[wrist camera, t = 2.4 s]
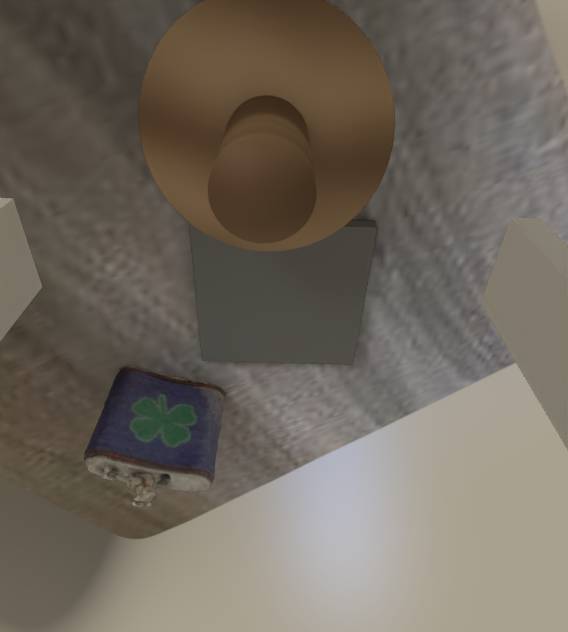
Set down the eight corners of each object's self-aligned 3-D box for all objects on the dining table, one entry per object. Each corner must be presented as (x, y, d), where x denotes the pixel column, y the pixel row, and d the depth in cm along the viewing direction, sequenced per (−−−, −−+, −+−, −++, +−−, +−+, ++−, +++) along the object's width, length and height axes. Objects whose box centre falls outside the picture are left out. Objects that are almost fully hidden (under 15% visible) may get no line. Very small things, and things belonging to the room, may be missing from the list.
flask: (228, 386, 40) (212, 502, 31) (219, 408, 41) (203, 523, 33) (119, 360, 38) (71, 476, 29) (115, 384, 39) (68, 500, 31)
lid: (125, -24, 17) (49, -18, 12) (412, -10, 18) (474, 1, 12) (161, 236, 24) (123, 320, 18) (369, 243, 24) (396, 329, 19)
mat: (191, 214, 30) (188, 221, 29) (374, 220, 30) (377, 227, 29) (203, 352, 37) (201, 360, 36) (351, 356, 37) (353, 364, 37)
